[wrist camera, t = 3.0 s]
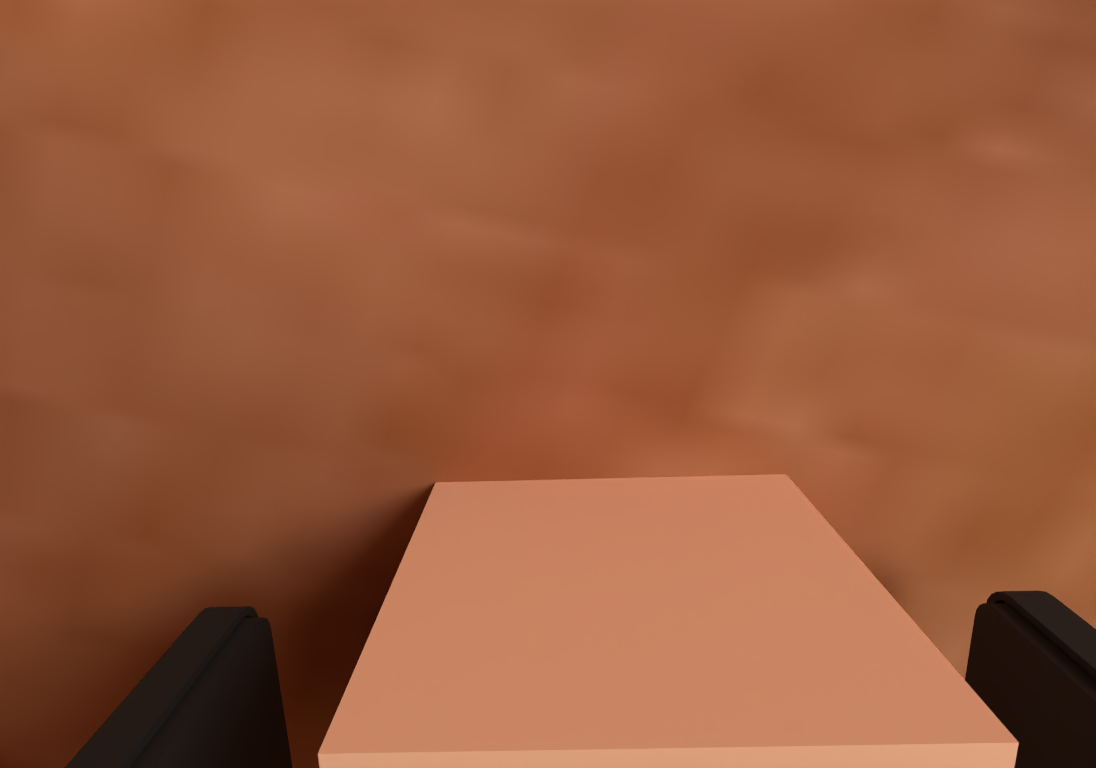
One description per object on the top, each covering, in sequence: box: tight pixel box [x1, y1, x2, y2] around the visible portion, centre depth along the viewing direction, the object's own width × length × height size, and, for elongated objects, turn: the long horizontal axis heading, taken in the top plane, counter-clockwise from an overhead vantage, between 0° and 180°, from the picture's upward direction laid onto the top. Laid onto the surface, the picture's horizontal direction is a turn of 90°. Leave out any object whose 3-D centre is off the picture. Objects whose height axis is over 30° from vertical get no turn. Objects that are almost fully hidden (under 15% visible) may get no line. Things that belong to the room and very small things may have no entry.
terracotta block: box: [318, 474, 1019, 768], centre depth 8 cm, size 5×5×5 cm
